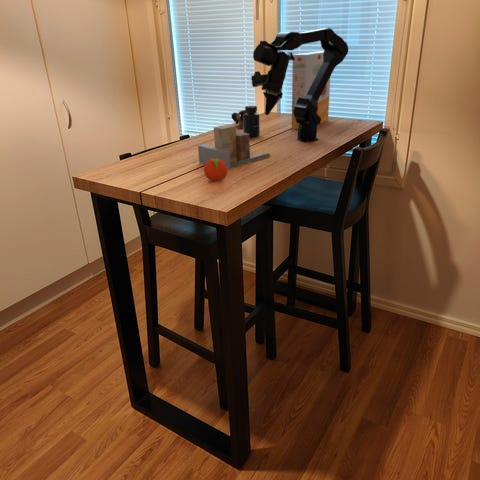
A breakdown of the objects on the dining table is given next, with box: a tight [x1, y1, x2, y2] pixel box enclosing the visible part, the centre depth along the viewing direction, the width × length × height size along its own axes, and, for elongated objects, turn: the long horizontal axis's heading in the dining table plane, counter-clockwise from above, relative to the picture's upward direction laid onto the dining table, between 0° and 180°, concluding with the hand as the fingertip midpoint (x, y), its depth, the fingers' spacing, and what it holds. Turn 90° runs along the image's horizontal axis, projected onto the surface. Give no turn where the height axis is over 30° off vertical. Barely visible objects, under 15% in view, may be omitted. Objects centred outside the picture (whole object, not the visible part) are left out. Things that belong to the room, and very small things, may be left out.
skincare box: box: [213, 124, 237, 163], centre depth 141 cm, size 6×4×12 cm
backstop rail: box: [197, 143, 271, 171], centre depth 146 cm, size 21×14×6 cm, turn 132°
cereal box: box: [291, 50, 331, 130], centre depth 187 cm, size 22×6×30 cm, turn 143°
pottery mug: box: [231, 109, 246, 129], centre depth 196 cm, size 12×10×8 cm
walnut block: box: [236, 130, 251, 161], centre depth 145 cm, size 4×9×9 cm, turn 42°
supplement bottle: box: [242, 105, 261, 139], centre depth 176 cm, size 7×7×12 cm
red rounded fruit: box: [203, 158, 228, 183], centre depth 125 cm, size 8×7×7 cm
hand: (266, 114), depth 154 cm, fingers closed
